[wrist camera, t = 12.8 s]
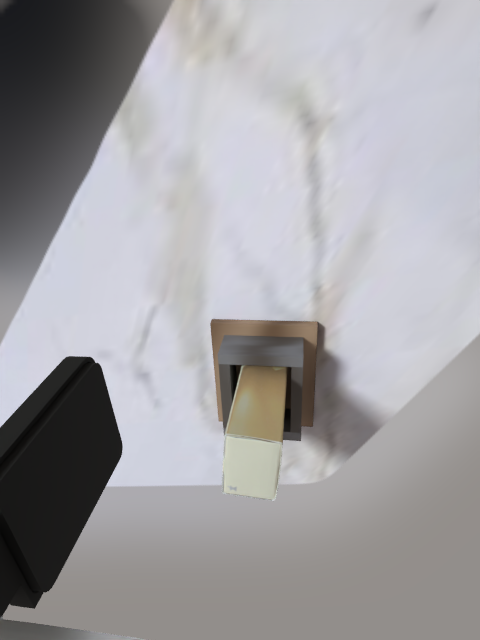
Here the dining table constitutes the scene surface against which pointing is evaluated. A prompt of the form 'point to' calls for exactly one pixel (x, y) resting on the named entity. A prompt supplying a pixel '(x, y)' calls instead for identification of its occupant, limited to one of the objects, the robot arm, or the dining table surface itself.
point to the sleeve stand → (267, 364)
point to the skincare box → (255, 433)
